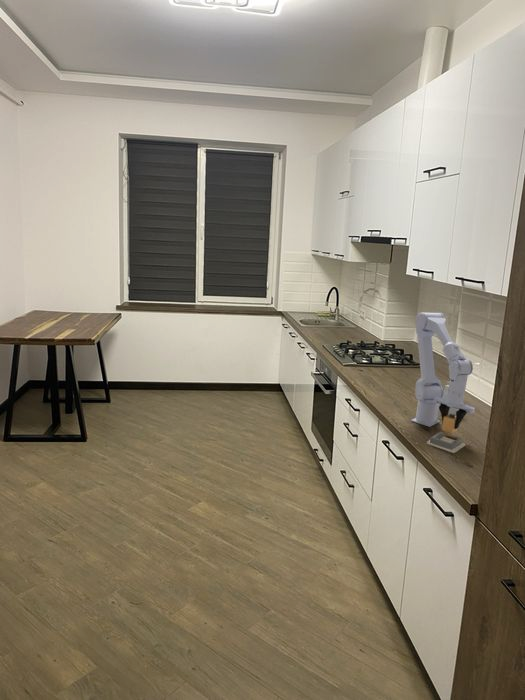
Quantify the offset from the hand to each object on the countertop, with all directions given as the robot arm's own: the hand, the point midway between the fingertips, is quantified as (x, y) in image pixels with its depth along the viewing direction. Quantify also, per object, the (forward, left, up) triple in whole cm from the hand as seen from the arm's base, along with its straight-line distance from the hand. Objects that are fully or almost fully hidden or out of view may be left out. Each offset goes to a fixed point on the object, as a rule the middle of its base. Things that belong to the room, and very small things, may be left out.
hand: (450, 426), depth 191 cm
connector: (-1, 0, -1) cm, 2 cm away
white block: (-27, -11, -5) cm, 30 cm away
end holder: (+9, +3, -4) cm, 10 cm away
